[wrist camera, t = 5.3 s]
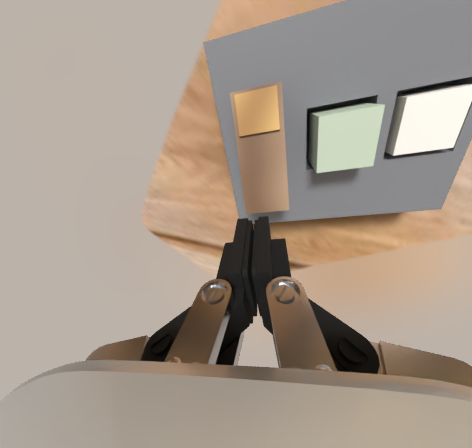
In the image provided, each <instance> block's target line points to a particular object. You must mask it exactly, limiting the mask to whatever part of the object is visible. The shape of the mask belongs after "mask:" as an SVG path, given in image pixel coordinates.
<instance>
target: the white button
mask: <svg viewBox="0 0 472 448" xmlns="http://www.w3.org/2000/svg"><path fill="white" fill-rule="evenodd" d="M471 102H472V84H464V85H443V86H435V87H430V88H424V89H419V90H414V91H409V92H404V93H398V94H397V96H396V101H395V106H394V110H393V115H392V119H391V124H390V129H389V133H388V138H387V142H386V147H385V152H386V153H389V154H391V155H393V156H395V155H402V154H409V153H417V152H424V151H432V150H439V149H447V148H453V147H454V145H455V142H456V140H457V137H458V135H459V132H460V130H461V127H462V125H463V122H464V119H465V117H466V114H467V112H468V109H469V107H470V104H471Z"/></svg>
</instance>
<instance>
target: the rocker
mask: <svg viewBox="0 0 472 448" xmlns="http://www.w3.org/2000/svg"><path fill="white" fill-rule="evenodd" d="M230 98H231V106H232V113H233V121H234V128H235V136H236V143H237V151H238V158H239V166H240V173H241V181H242V188H243V196H244V203H245V211H246V214H252V213H263V212H274V211H285V210H289V195H288V179H287V162H286V145H285V129H284V112H283V95H282V81H280V82H276V83H272V84H267V85H263V86H259V87H254V88H250V89H246V90H241V91H237V92H232V93H230Z"/></svg>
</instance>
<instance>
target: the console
mask: <svg viewBox="0 0 472 448" xmlns="http://www.w3.org/2000/svg"><path fill="white" fill-rule="evenodd" d="M203 44H204V49H205V54H206V58H207V63H208V68H209V73H210V78H211V83H212V88H213V93H214V98H215V102H216V107H217V112H218V117H219V122H220V127H221V132H222V137H223V142H224V147H225V151H226V156H227V161H228V166H229V171H230V176H231V181H232V186H233V191H234V195H235V200H236V205H237V210H238V215H239V219H242V218H248V220H252V223H253V224H254V223H255V220H258V217H263V216H268V217H269V223H272V222H285V221H298V220H310V219H323V218H335V217H348V216H361V215H373V214H386V213H399V212H411V211H424V210H437V209H441V208H442V206H443V204H444V201H445V199H446V197H447V194H448V192H449V190H450V187H451V185H452V183H453V180H454V178H455V176H456V174H457V171H458V169H459V167H460V164H461V162H462V160H463V157H464V155H465V153H466V150H467V148H468V146H469V144H470V141H471V139H472V102H471V104H470V107H469V109H468V112H467V114H466V117H465V119H464V122H463V125H462V127H461V130H460V132H459V135H458V137H457V140H456V142H455V145H454V147H453V148H447V149H439V150H432V151H424V152H417V153H409V154H402V155H395V156H393V155H391V154H389V153H386V152H385V147H386V142H387V138H388V133H389V129H390V124H391V119H392V115H393V110H394V106H395V101H396V96H397V94H398V93H404V92H409V91H414V90H419V89H424V88H430V87H435V86H443V85H464V84H472V0H346V1H342V2H339V3H335V4H332V5H329V6H325V7H322V8H318V9H315V10H312V11H308V12H305V13H302V14H298V15H295V16H291V17H288V18H285V19H281V20H278V21H274V22H271V23H268V24H264V25H261V26H257V27H254V28H251V29H247V30H244V31H241V32H237V33H234V34H230V35H227V36H224V37H220V38H217V39H213V40H210V41H207V42H203ZM280 81H282V95H283V112H284V129H285V145H286V162H287V179H288V195H289V210H285V211H274V212H263V213H252V214H246V211H245V203H244V196H243V188H242V181H241V173H240V166H239V158H238V151H237V143H236V136H235V128H234V121H233V113H232V106H231V98H230V93H232V92H237V91H241V90H246V89H250V88H254V87H259V86H263V85H267V84H272V83H276V82H280ZM358 103H373V104H384V105H385V108H384V113H383V118H382V123H381V129H380V134H379V139H378V144H377V149H376V154H375V159H374V165H373V166H370V167H362V168H354V169H346V170H338V171H330V172H322V173H316V171H315V170H314V168H313V166H312V165H311V163H310V162H309V121H310V113H311V112H316V111H321V110H327V109H332V108H337V107H342V106H348V105H353V104H358Z"/></svg>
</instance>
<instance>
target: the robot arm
mask: <svg viewBox="0 0 472 448" xmlns="http://www.w3.org/2000/svg"><path fill="white" fill-rule="evenodd" d="M257 303H258V308H259V313H260V316H262V319H263V324H264V327H265V328H266V329H267V330H269V332H270V333H272V334H273V339H274V345H275V350H276V355H277V361H278V366H279V368H270V367H252V366H237V365H238V360H239V356H240V350H241V346H242V342H243V338H244V330H245V329H246V328H247V327H249V325H250V323H253V316H257ZM0 448H472V366H470V365H468V364H467V363H465V362H463V361H460V360H457V359H455V358H452V357H447V356H442V355H439V354H434V353H430V352H425V351H421V350H417V349H412V348H408V347H404V346H400V345H395V344H391V343H386V342H382V341H380V342H379V343H375V342H370V341H368V340H367V339H366V338H365V337H363V336H362V335H361V334H359V333H358V332H356V331H355V330H354V329H352V328H351V327H349V326H348V325H346V324H345V323H343V322H342V321H341V320H339V319H338V318H336V317H335V316H333V315H332V314H330V313H329V312H327V311H326V310H324V309H323V308H322V307H320V306H319V305H317V304H316V303H314V302H313V301H311V300H310V299H308V298H307V295H306V293H305V290H304V288H303V286H302V285H301V283H300V282H298V281H297V280H295V279H294V278H291V273H290V267H289V260H288V254H287V248H286V241H285V239H272V240H271V235H270V226H269V217H268V216H263V217H258V220H255V223H254V229H253V223H252V220H248V218H242V219H238V220H237V225H236V230H235V235H234V240H233V242H231V243H225V246H224V250H223V254H222V258H221V262H220V266H219V270H218V274H217V278H216V279H214V280H211V281H208V282H207V283H205V284H204V285H203V286H202V287H201V289H200V290H199V292H198V294H197V296H196V298H195V300H194V302H193V304H192V306H191V307H189V308H188V309H187V310H186V311H184V312H183V313H181V314H180V315H179V316H177V317H176V318H174V319H173V320H172V321H170V322H169V323H168V324H166V325H165V326H164V327H162V328H161V329H160V330H158V331H157V332H156V333H154V334H153V335H152V336H151V337H148V336H147V335H146V336H142V337H137V338H133V339H129V340H125V341H120V342H116V343H112V344H107V345H104V346H102V347H99V348H98V349H96V350H95V351H94V352H92V353H91V355H90V356H89V357H88V358H87V359H86V361H82V362H75V363H71V364H67V365H63V366H60V367H57V368H54V369H52V370H49V371H47V372H44V373H42V374H40V375H38V376H36V377H34V378H32V379H30V380H28V381H26V382H25V383H23V384H21V385H20V386H18V387H17V388H16V389H14V390H13V391H12V392H10V393H9V394H8V395H7V396H6V397H5V398H4V399H3V400H1V402H0Z"/></svg>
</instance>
